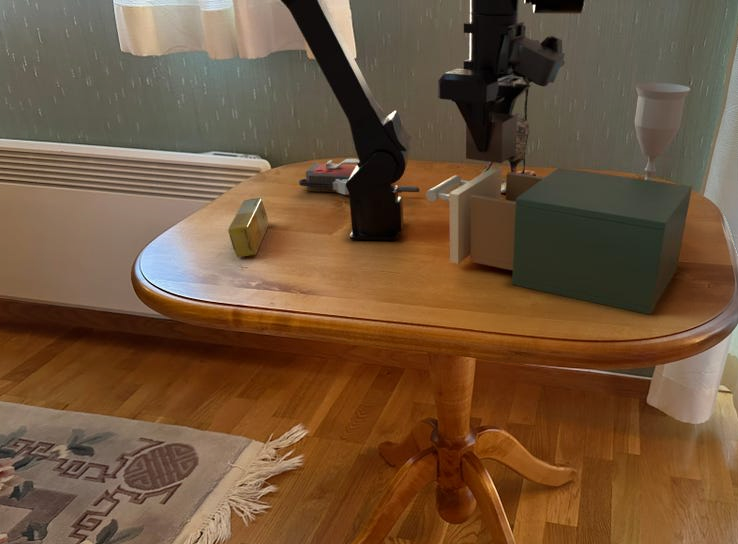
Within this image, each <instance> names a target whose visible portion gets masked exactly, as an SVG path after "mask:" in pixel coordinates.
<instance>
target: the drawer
mask: <svg viewBox="0 0 738 544" xmlns="http://www.w3.org/2000/svg"><path fill="white" fill-rule="evenodd" d="M502 171H503V168H502V167H499V166H491V167H490V168H489V170H487V171H486V172H484V173H483V172H482V173H481V174H479V175H478V176H477V175H476V177H474V178H473V179H471V180H464V179H462V177H461V176H460V175H457V174H456V175H453V176H451V177H450V178H448V179H446V180H444V181H442V182H441V183H439V184H438V185H435V186H433V187H432V188H430V189H429V190H427V191H426V193H425V196H426V199H427V200H428V201H429V202H430V203H435V202H436V201H438V200H444V201H449V263H452V264H455V265H456V264H457V265H459V264H460V263H462V262H463V261H464V260H466V259H467V258H468V257H469V256H470V262H471V263H475V264H478V265H484V266H489V267H494V268H499V269H502V270H509V271H512V272H513V255H514V232H515V210H516V198H517V197H519V196H520V195H522V194H523V193H524V192H526V191H527V190H528V189H530V188H531V187H533V186H534V185H535V184H537V183H538V182H539V181H541V180H542V179H544V178H545V177H546V176H545V177H544V176H537V175H536V176H531V175H525V174H518V173H511V171H509V172H507V173H506V176H505V177H506V178H505V179H506V193H505V199H504V198H503V199H502V192H501V180H502V176H503V175H502V173H503V172H502Z"/></svg>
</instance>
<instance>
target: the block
mask: <svg viewBox="0 0 738 544" xmlns="http://www.w3.org/2000/svg"><path fill="white" fill-rule="evenodd" d="M516 135H517V115H512V114H502V113H493V117H492V124H491V131H490V138H489V144H488V149H487V152H479V151H478V149H477V147H476V145H475V142H474V140H473V138H472V136H471V133H470V131H469V129H468V127H467V125H466V124H465V159H466V160H473V161H479V162H481V161H482V162H487V163H488V162H493V163H495V164H496V163H497V164H503V163H504V162H506V161H508V160H507V159H509V158H510V157H512V156H513V155H515V154H516Z"/></svg>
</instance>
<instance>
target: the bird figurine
mask: <svg viewBox="0 0 738 544" xmlns="http://www.w3.org/2000/svg"><path fill="white" fill-rule="evenodd" d="M521 79H522V81H523V82H524V83H525V84H529V85H530V83H533V82H532V81H529V80H528V78H527V77H521ZM529 89H530V88H529ZM529 89H527V90H526V91H525V92H524V93H525V96H524V99H525V100H524V107H523V110H524V115H523V114H518V113H514V112H512V115H517V135H516V154H515V155H513V156H512V157H510V158H509V159H507V160H506V161H508V162H509V167H510V172H511V173H518V174H525V175H531V176H537V174H536V171H531V170H528V169H526V149H527V144H528V139H529V135H530V124H529V121H528V113H527V112H528V96H529ZM521 162H522V163H523V170H518V171H517V166H518V164H520V163H521ZM493 164H494V162H487V163H486V164H485V166H484V170H483V171H482V173H484V172H486V171H487V170H489V169H491V168H492V165H493ZM501 193H503V194H506V178H504V179H503V178H501Z"/></svg>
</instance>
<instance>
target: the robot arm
mask: <svg viewBox="0 0 738 544" xmlns="http://www.w3.org/2000/svg"><path fill="white" fill-rule="evenodd" d="M280 2H282V4H283V5H284V6H285V7H286V8H287V9H288V11H289V12H290V14H291V16H292V18H293V20H294V22H295V24H296V25H297V27H298V29H299V31H300V34H302V36H303V38H304V40H305V42H306V44H307V46H308V48H309V49H310V51H311V53H312V55H313V57H314V59H315V61H316V63H317V64H318V66H319V69H320V70H321V73H322V74H323V76H324V77H325V79H326V81H327V84H328V85H329V87H330V89H331V91H332V93H333V94H334V96H335V98H336V100H337V102H338V104H339V106H340V107H341V109H342V111H343V113H344V115H345V117H346V119H347V121H348V124H349V127H350V132H351V137H352V141H353V146H354V147H353V148H354V150H355V152H356V156H357V159H358V160H359V161H360V162H359V163H358V164H357V163H356V164H355V165H356V167H355V169H354V170H353V172H352V174H351V176H350V177H349V179H348V181H347V183H346V187H347V189H348V192H349V195H348V201H349V209H350V223H351V232H350V233H349V239H350V240H351V241H357V240H358V241H397V240H398V238H399V234H400V233H401V232H402V231H403V228H404V224H405V223H404V205H403V204H404V203H403V197H402V196H399V193H398V186H399V185H393V184H395V183H397V182H399V180H400V179H401V178H402V177H403V176H404V174H405V172H406V168H407V165H408V162H409V159H410V156H411V147H410V142H411V139H412V136H411V135H410V134H409V133H408V132H407V131H406V130H405V128H404V127H403V123H402V120H401V118H400V117H401V116H400V115H399V112H398V110H394V111H392V113H390V114H387V113H386V112H385V111H384V109H382V108H381V106H380V105H379V104H378V103H377V101H376V99H375V97H374V95H373V93H372V91H371V89H370V87H369V85H368V83H367V82H366V80H365V77H364V75H363V73H362V71H361V70H360V67H359V66H358V63H357V61H356V59H355V58H354V55H353V54H352V52H351V50H350V48H349V46H348V44H347V41H346V39H345V38H344V36H343V34H342V32H341V29H340V28H339V26H338V24H337V23H336V20H335V18H334V16H333V15H332V12H331V11H330V8H329V7H328V4H327V3H326V1H325V0H280ZM523 2H524V4H526V5H529V4H530V6H532V11H533V14H569V15H571V14H577V15H578V14H579V15H580V14H582V12H583V8H584V3H585V0H524V1H523ZM519 4H520V0H469V12H470V13H469V22H464V23H463V33H464V34H469V59H466V60H463V68H456V69H453V70H450V71H447V72H444V73H443V74H442V76H441V77H440V78H439V79H438V80H437V98H438V99H440V100H447V101H451V102H453V103H455V105H456V107H457V109H458V111H459V112H460V114H461V117H462V118H463V121H464V122H465V126H466V125H467V127H468V129H469V131H470V133H471V136H472V138H473V140H474V142H475V145H476V147H477V149H478V151H479V152H487V149H488V144H489V138H490V131H491V124H492V117H493V113H502V114H512V113H513V111H514V108H515V105H516V102H517V100H518V98H519V97H521V96H522V95H523V94H524V93H525V91H526V90H527V89H530V88H531V84H530V83H529V84H526V83H521V82H522V81H521V80H522V77H527V78H528V80H529V81H532V82H531V83H533V84H535V85H537V86H540V87H547V86H548V84H550V83H552V84H553V83H555V81H556V79H557V75H558V74H559V71H560V68H562V67H563V66H564V65H565V60H564V58H565V55H566V53H564V52H563V40H562V39H561V38H558V37H556V36H554V35H550V36H547V37H546V38H544V40H542V42H540V40H538V39H536V40H534V39H532V38H529V37H527V36H526V27H527V26H526V25H525V23H524V21H519Z"/></svg>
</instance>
